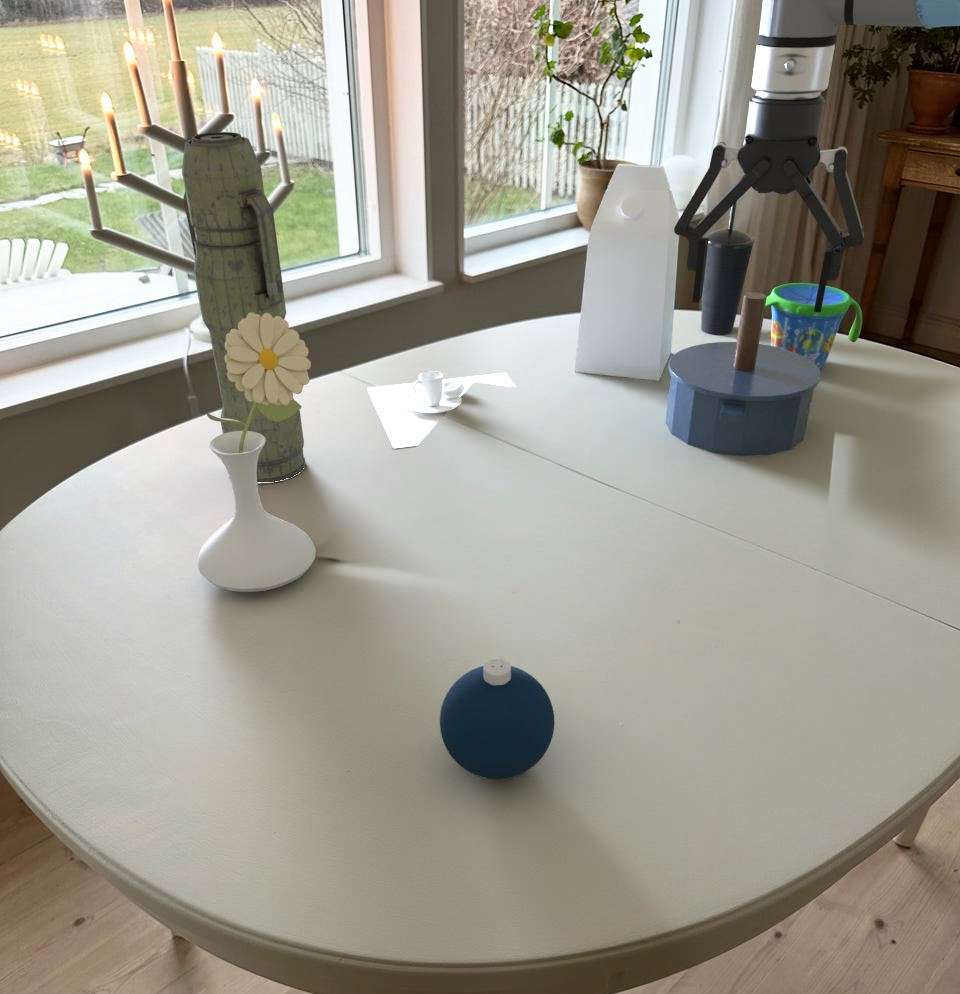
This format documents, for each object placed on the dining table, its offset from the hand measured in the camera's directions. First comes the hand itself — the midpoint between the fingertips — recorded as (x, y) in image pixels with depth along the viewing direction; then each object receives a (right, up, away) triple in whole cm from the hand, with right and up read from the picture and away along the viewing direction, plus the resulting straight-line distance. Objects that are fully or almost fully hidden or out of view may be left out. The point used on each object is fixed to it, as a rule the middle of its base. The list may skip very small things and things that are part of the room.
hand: (756, 304), depth 110 cm
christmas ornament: (-31, -48, -38) cm, 69 cm away
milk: (-11, +1, +29) cm, 31 cm away
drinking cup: (+5, +10, +39) cm, 41 cm away
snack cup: (+14, 0, +27) cm, 30 cm away
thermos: (-57, -19, +3) cm, 60 cm away
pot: (0, -12, +9) cm, 16 cm away
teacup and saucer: (-35, -8, +16) cm, 40 cm away
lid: (0, -6, +5) cm, 8 cm away
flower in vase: (-53, -32, -16) cm, 64 cm away
